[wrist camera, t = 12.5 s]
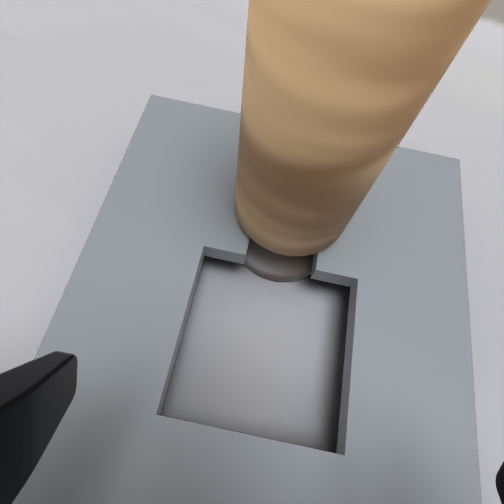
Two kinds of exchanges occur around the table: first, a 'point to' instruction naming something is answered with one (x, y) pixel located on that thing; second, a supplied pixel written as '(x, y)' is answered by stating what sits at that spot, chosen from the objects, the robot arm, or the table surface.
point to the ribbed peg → (330, 113)
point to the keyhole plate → (235, 249)
